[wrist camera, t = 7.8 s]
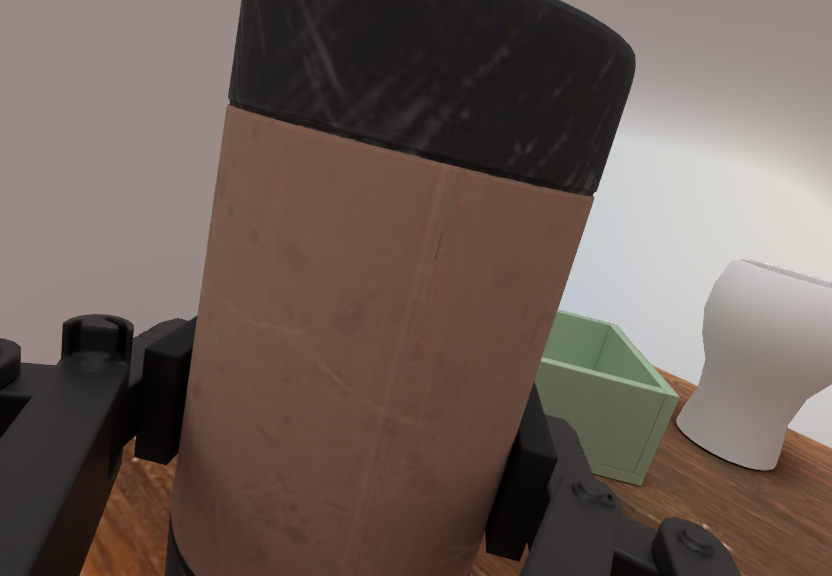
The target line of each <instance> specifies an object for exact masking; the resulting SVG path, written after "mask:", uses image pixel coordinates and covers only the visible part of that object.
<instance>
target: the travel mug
mask: <svg viewBox="0 0 832 576" xmlns="http://www.w3.org/2000/svg"><path fill="white" fill-rule="evenodd" d="M635 67H636V63H635V54H634V52H633V50H632V48H631V46H630V45H629V44H628V43H627V42H626V41H625V40H624V39H623V38H622V37H621V36H620V35H619V34H617V33H616V32H615V31H613V30H612V29H611V28H610V27H608V26H607V25H605V24H604V23H602V22H600V21H599V20H597V19H595V18H594V17H592V16H590V15H589V14H587V13H585V12H583V11H581V10H579V9H577V8H575V7H573V6H571V5H569V4H567V3H565V2H562V1H560V0H242V2H241V9H240V17H239V23H238V30H237V37H236V44H235V52H234V59H233V66H232V73H231V80H230V87H229V94H228V98H229V100H230V104H228V106H227V109H226V116H225V124H224V130H223V138H222V145H221V152H220V159H219V166H218V173H217V181H216V188H215V195H214V202H213V209H212V216H211V223H210V230H209V237H208V245H207V252H206V259H205V267H204V274H203V281H202V287H201V294H200V302H199V309H198V316H197V323H196V330H195V337H194V344H193V351H192V359H191V366H190V373H189V380H188V387H187V394H186V401H185V408H184V416H183V423H182V430H181V437H180V444H179V451H178V458H177V466H176V473H175V480H174V487H173V494H172V503H171V513H170V523H169V534H168V546H167V557H166V569H165V576H469V575H470V572H471V568H472V566H473V564H474V562H475V559H476V556H477V553H478V550H479V547H480V544H481V541H482V538H483V535H484V532H485V529H486V526H487V523H488V520H489V516H490V513H491V510H492V507H493V504H494V501H495V498H496V495H497V492H498V489H499V486H500V483H501V480H502V477H503V474H504V471H505V468H506V465H507V462H508V459H509V456H510V453H511V450H512V447H513V444H514V441H515V438H516V435H517V432H518V428H519V425H520V422H521V419H522V416H523V413H524V410H525V407H526V404H527V401H528V398H529V395H530V392H531V389H532V386H533V383H534V380H535V377H536V374H537V371H538V368H539V365H540V362H541V359H542V356H543V353H544V350H545V347H546V343H547V340H548V337H549V334H550V331H551V328H552V325H553V322H554V319H555V316H556V313H557V310H558V307H559V304H560V301H561V298H562V295H563V292H564V289H565V286H566V282H567V280H568V277H569V274H570V270H571V268H572V265H573V261H574V258H575V255H576V252H577V249H578V246H579V243H580V240H581V237H582V234H583V231H584V228H585V225H586V222H587V219H588V216H589V213H590V210H591V207H592V204H593V201H594V197H593V194H594V192H596V191H597V189H598V186H599V182H600V180H601V176H602V174H603V170H604V167H605V165H606V161H607V159H608V156H609V152H610V149H611V146H612V143H613V140H614V137H615V134H616V131H617V128H618V125H619V122H620V119H621V116H622V113H623V110H624V107H625V104H626V101H627V98H628V95H629V92H630V88H631V85H632V81H633V78H634V73H635Z"/></svg>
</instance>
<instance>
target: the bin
mask: <svg viewBox="0 0 832 576" xmlns="http://www.w3.org/2000/svg"><path fill="white" fill-rule="evenodd" d="M534 381H535V384H536V387H537V391H538V394H539V397H540V401H541V404H542V407H543V411H544V414H546V415H550V416H554V417H558V418H561V419H565V420H566V421H567V422H568V423H569V424H570V425H571V427H572V428H573V429H574V430H575V431H576V432H577V435H578V438H579V440H580V445H582V448H583V450H584V454H585V455H586V458H587V460H588V463H589V465H590V468H591V471H592V473H593V474H597V475H600V476H604V477H608V478H612V479H615V480H619V481H623V482H627V483H630V484H634V485H638V486H641V485H642V483H643V480H644V478H645V476H646V473H647V471H648V469H649V467H650V464H651V462H652V460H653V457H654V455H655V453H656V450H657V448H658V446H659V443H660V441H661V439H662V437H663V434H664V432H665V430H666V427H667V425H668V423H669V420H670V418H671V416H672V414H673V411H674V409H675V407H676V404H677V402H678V400H679V396H678V395H677V393H676V392H675V391H674V390H673V389H672V388H671V386H670V385H669V384H668V383H667V382H666V381H665V380H664V378H663V377H662V376H661V375H660V374H659V373H658V372H657V370H656V369H655V368H654V367H653V366H652V365H651V364H650V362H649V361H648V360H647V359H646V358H645V357H644V356H643V354H642V353H641V352H640V351H639V350H638V349H637V347H636V346H635V345H634V344H633V343H632V342H631V341H630V339H629V338H628V337H627V336H626V335H625V334H624V332H623V331H622V330H621V329H620V328H619V327H618V326H617V325H615V324H612V323H608V322H604V321H600V320H596V319H592V318H588V317H584V316H581V315H577V314H573V313H569V312H565V311H562V310H557V313H556V316H555V319H554V322H553V325H552V328H551V331H550V334H549V337H548V340H547V343H546V347H545V350H544V353H543V356H542V359H541V362H540V365H539V368H538V371H537V374H536V377H535V380H534Z"/></svg>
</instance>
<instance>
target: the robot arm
mask: <svg viewBox="0 0 832 576" xmlns="http://www.w3.org/2000/svg"><path fill="white" fill-rule="evenodd" d="M197 316H198V315H197ZM197 316H196V317H194V318H193V319H191V320H189V321H187V320H183V319H179V318H177V319H174V320H169V321H165V322H161V323H159V324H157V325H155V326H154V327H152V328H150V329H149V330H148V331H145V332H143V333H141V334H140V335H139V336H138V337H135V338H133V332H134V325H133V324H132V323H131V322H129V321H128V320H126V319H123V318H121V317H117V316H111V315H99V314H92V315H83V316H78V317H74V318H71V319H69V320H67V321H66V322H64V323H63V331H62V352H61V359H60V361H59V362H58V364H57V365H43V364H32V363H21V347H20V346H19V345H18V344H16V343H15V342H13V341H10V340H6V339H1V338H0V576H79V575H80V572H81V570H82V567H83V564H84V562H85V559H86V556H87V554H88V551H89V548H90V546H91V543H92V540H93V538H94V535H95V532H96V530H97V527H98V525H99V522H100V519H101V517H102V514H103V511H104V509H105V506H106V503H107V501H108V498H109V495H110V493H111V490H112V487H113V485H114V482H115V480H116V477H117V474H118V472H119V469H120V466H121V464H122V454H123V446H124V445H126V444H127V443H128V442H129V441H130V440H131V439H132V438H134V437H135V436H136V443H135V453H134V457H137V458H141V459H144V460H148V461H152V462H156V463H159V464H163V465H167V464H168V463H169V462H170V461H171V460H172V459H173V458H174V457H175V455H176V454H177V453H178V451H179V444H180V437H181V430H182V423H183V416H184V408H185V401H186V394H187V387H188V380H189V373H190V366H191V359H192V351H193V344H194V337H195V330H196V323H197ZM485 536H486V553H490V554H493V555H497V556H501V557H504V558H508V559H512V560H515V561H519V562H520V559H521V556H522V554H523V551H524V548H525V546H526V543H527V542H528V549H529V555H528V557H527V559H526V562H525V564H524V567H523V569H522V572H521V574H520V576H741V575H740V573H739V571H738V569H737V566H736V564H735V562H734V560H733V558H732V556H731V554H730V553H729V552H728V550H727V549H726V547H725V546H724V545H723V544H722V543H721V542H720V541H719V540H718V539H717V538H716V537H715V536H714V535H713V534H712V533H710V532H709V531H708V530H705V529H704V528H703V527H701V526H700V525H698V524H694V523H692V522H689V521H687V520H684V519H679V518H675V517H674V518H666V519H665V520H664V521H662V522H661V524H660V527H659V529H658V531H656V530H653V529H651V528H649V527H647V526H645V525H643V524H641V523H639V522H637V521H634V520H633V519H631V518H629V517H627V516H625V515H624V514H622V513H621V504H620V500H619V499H618V498H617V496H616V495H615V493H614V492H613V491H612V490H611V489H609V488H608V487H607V486H606V485H605V484H603V483H601V482H600V481H598V480H596V479H595V478H594V476H593V473H592V471H591V468H590V465H589V463H588V460H587V458H586V455H585V454H584V450H583V448H582V445H580V440H579V438H578V435H577V432H576V431H575V430H574V429H573V428H572V427H571V425H570V424H569V423H568V422H567V421H566V420H565V419H561V418H558V417H554V416H550V415H546V414H544V411H543V407H542V404H541V401H540V397H539V394H538V391H537V387H536V384H535V381H534V383H533V386H532V389H531V392H530V395H529V398H528V401H527V404H526V407H525V410H524V413H523V416H522V419H521V422H520V425H519V428H518V432H517V435H516V438H515V441H514V444H513V447H512V450H511V453H510V456H509V459H508V462H507V465H506V468H505V471H504V474H503V477H502V480H501V483H500V486H499V489H498V492H497V495H496V498H495V501H494V504H493V507H492V510H491V513H490V516H489V520H488V523H487V526H486V529H485Z"/></svg>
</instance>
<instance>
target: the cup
mask: <svg viewBox="0 0 832 576" xmlns="http://www.w3.org/2000/svg"><path fill="white" fill-rule="evenodd" d="M702 334H703V342H704V350H705V358H706V360H705V364H704V367H703V371H702V375H701V379H700V382H699V386H698V387H697V388H696V390H695V391H694V393H693V394H692V395H691V397H690V398H689V400H688V401H687V403H686V404H685V405H684V407H683V409H682V410H681V412H680V414H679V415H678V417H677V419H676V423H677V426H678V427H679V428H680V430H681V431H682V432H683V433H684V434H685V435H686V436H687V437H689V438H690V439H691V440H692V441H694V442H695V443H697V444H698V445H699V446H701V447H702V448H704V449H706V450H708V451H710V452H711V453H713V454H715V455H717V456H719V457H721V458H723V459H726V460H728V461H730V462H733V463H736V464H738V465H741V466H744V467H748V468H752V469H756V470H772V469H774V468H775V467H776V465H777V462H778V459H779V456H780V453H781V450H782V446H783V442H784V438H785V434H786V430H787V426H788V424H789V423H790V421H791V420H792V419H793V417H794V416H795V415H796V413H797V412H798V411H799V409H800V408H801V406H802V405H803V404H804V403H805V401H806V400H807V399H808V398H810V397H811V396H813V395H815V394H816V393H818V392H820V391H821V390H823V389H825V388H826V387H828V386H829V385H831V384H832V282H830V281H827V280H824V279H821V278H818V277H814V276H811V275H807V274H804V273H801V272H797V271H794V270H790V269H786V268H783V267H779V266H775V265H771V264H767V263H764V262H759V261H755V260H751V259H746V258H741V257H735V258H734V259H733V260H732V261H731V263H730V264H729V265H728V266H727V268H726V269H725V271H724V272H723V273H722V274H721V276H720V277H719V279H718V280H717V281H716V282H715V284H714V286H713V289H712V291H711V293H710V296H709V298H708V301H707V303H706V305H705V309H704V320H703V332H702Z"/></svg>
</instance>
